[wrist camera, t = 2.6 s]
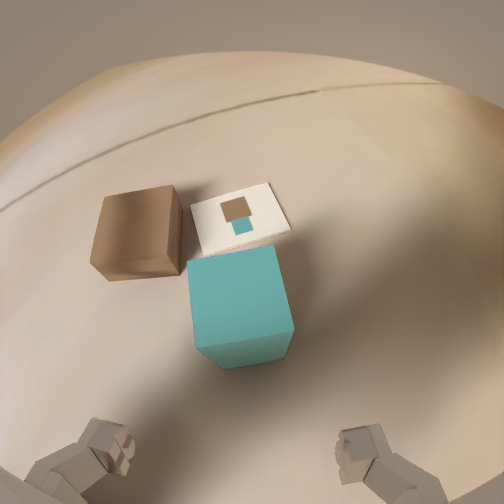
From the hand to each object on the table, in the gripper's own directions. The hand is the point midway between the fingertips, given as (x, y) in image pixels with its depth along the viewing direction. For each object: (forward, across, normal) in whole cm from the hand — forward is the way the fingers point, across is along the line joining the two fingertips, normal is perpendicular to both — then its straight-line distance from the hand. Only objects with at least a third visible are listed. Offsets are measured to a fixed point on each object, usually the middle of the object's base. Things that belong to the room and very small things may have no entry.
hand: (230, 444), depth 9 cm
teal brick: (+12, 0, +3) cm, 12 cm away
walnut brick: (+18, +9, -3) cm, 21 cm away
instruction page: (+20, +1, -5) cm, 21 cm away
